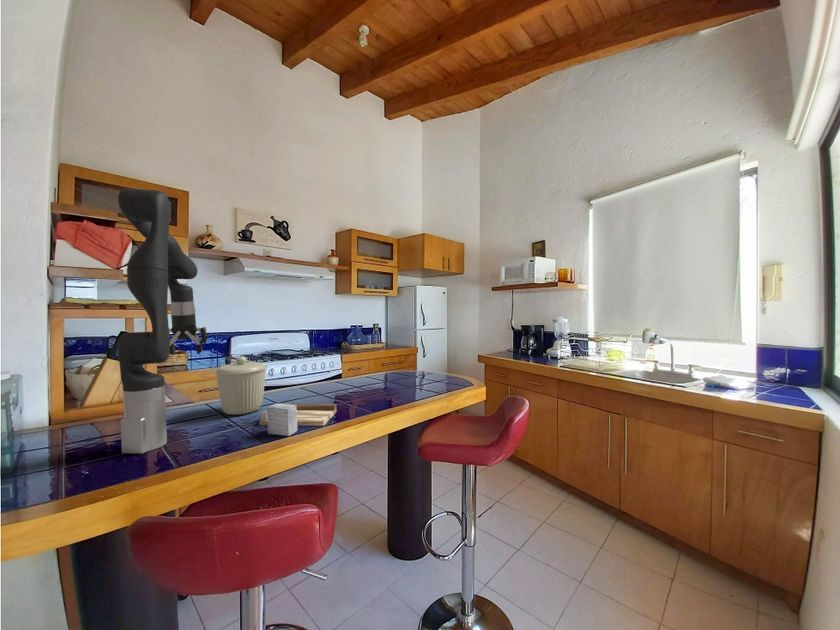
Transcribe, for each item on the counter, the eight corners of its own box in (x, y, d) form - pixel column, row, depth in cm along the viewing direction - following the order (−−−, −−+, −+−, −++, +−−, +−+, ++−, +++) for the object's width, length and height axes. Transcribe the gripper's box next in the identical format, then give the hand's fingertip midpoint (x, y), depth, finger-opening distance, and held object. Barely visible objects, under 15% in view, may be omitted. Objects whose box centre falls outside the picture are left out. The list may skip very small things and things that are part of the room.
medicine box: (297, 431, 104) (297, 404, 104) (288, 436, 100) (288, 408, 100) (277, 429, 107) (276, 402, 106) (267, 434, 102) (266, 407, 102)
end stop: (266, 420, 111) (266, 412, 111) (260, 420, 111) (260, 412, 111) (280, 410, 121) (280, 403, 121) (275, 410, 121) (275, 403, 121)
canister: (219, 422, 113) (217, 362, 112) (211, 410, 127) (210, 356, 126) (274, 411, 124) (272, 356, 124) (262, 401, 138) (260, 351, 138)
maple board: (323, 425, 109) (323, 421, 109) (259, 425, 110) (259, 420, 110) (336, 412, 123) (336, 407, 123) (279, 411, 124) (279, 407, 124)
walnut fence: (334, 410, 120) (334, 405, 120) (276, 410, 121) (275, 405, 121) (336, 408, 123) (336, 403, 123) (279, 407, 124) (279, 403, 124)
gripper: (156, 314, 119) (160, 357, 122) (201, 314, 124) (204, 355, 126) (165, 311, 126) (168, 352, 129) (207, 311, 131) (210, 350, 133)
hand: (186, 353), depth 127 cm, fingers open, 8 cm apart
